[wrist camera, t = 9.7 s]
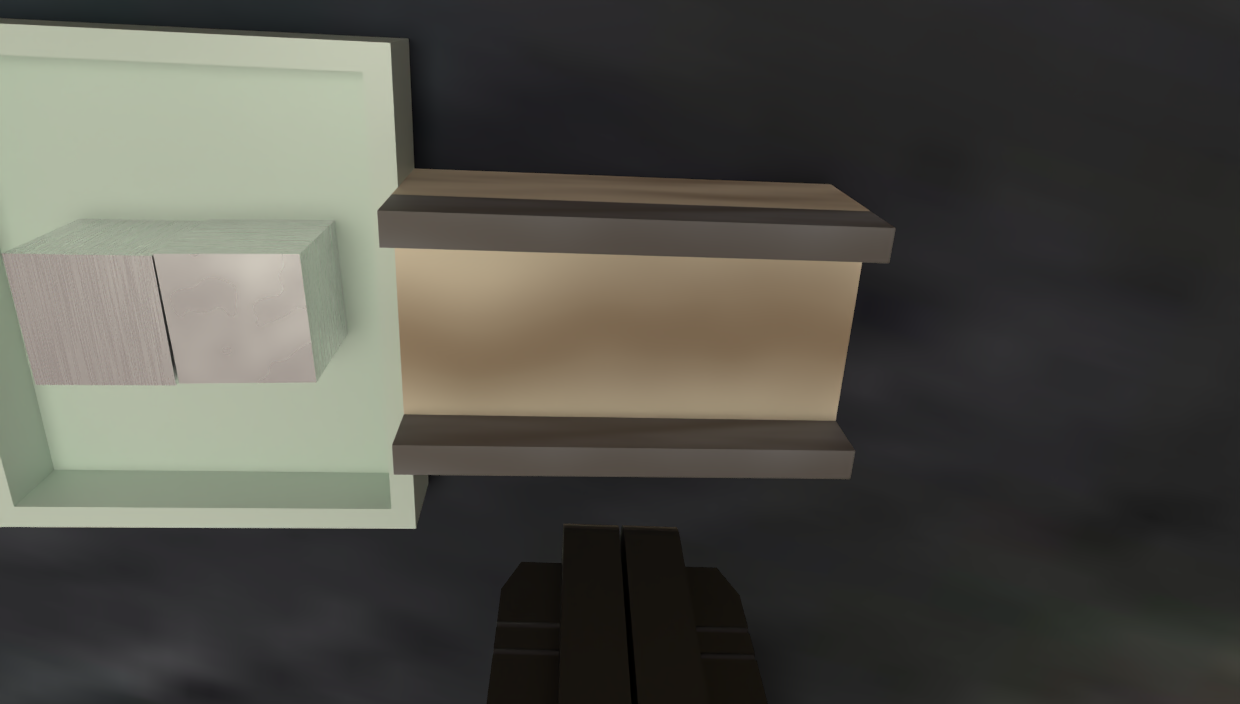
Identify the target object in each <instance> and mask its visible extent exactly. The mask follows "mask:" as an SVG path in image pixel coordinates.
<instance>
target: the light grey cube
mask: <svg viewBox="0 0 1240 704" xmlns="http://www.w3.org/2000/svg"><path fill="white" fill-rule="evenodd" d="M153 256H154V261H155V266H156V271H157V276H158V281H159V286H160V291H161V295H162V300H163V305H164V310H165V315H166V320H167V325H168V330H169V335H170V340H171V345H172V350H173V354H174V359H175V364H176V369H177V374H178V379H179V384H195V383H311V382H317V381H318V379H319V378H320V376H321V375H322V373H323V372H324V370H325V369H326V367H327V365H328V364H329V362H330V361H331V359H332V358H333V356H334V355H335V353H336V352H337V350H338V348H339V347H340V345H341V344H342V342H343V341H344V339H345V338H346V336H347V335H348V330H347V321H346V312H345V304H344V295H343V286H342V277H341V269H340V260H339V251H338V242H337V234H336V225H335V220H213V219H209V220H207V221H206V222H204V223H202V224H201V225H199V226H197V227H196V228H194V229H193V230H191V231H189V232H188V233H186V234H184V235H183V236H181V237H180V238H178V239H176V240H175V241H173V242H171V243H170V244H168V245H167V246H165V247H163V248H162V249H160V250H158V251H157V252H155V253H154V254H153Z"/></svg>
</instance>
